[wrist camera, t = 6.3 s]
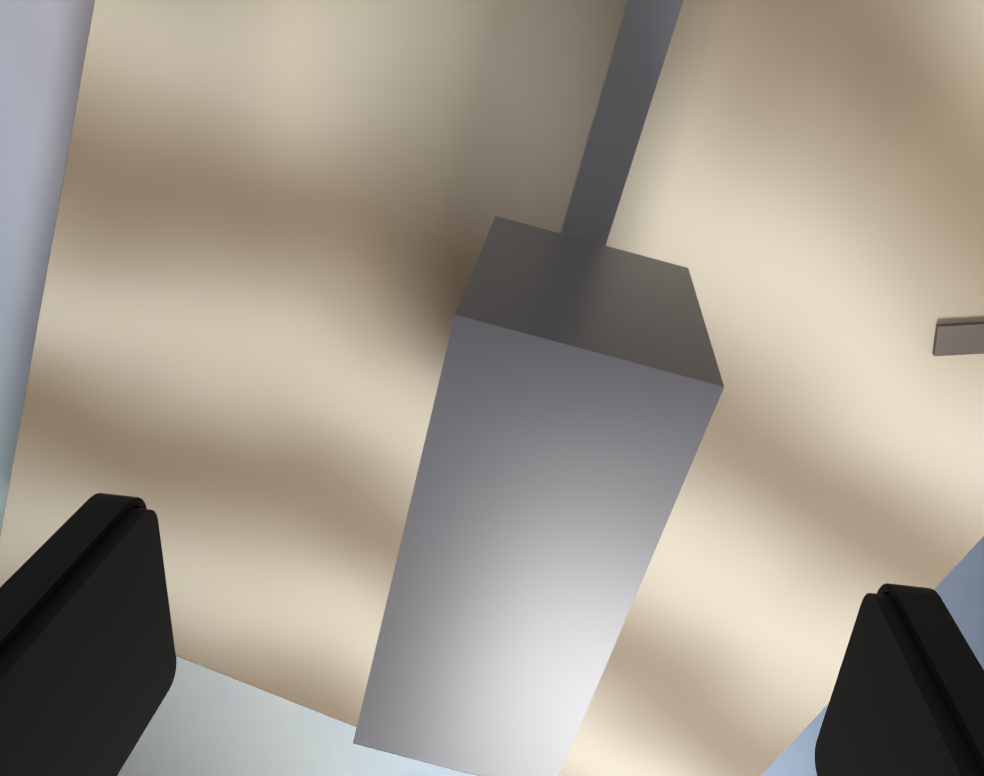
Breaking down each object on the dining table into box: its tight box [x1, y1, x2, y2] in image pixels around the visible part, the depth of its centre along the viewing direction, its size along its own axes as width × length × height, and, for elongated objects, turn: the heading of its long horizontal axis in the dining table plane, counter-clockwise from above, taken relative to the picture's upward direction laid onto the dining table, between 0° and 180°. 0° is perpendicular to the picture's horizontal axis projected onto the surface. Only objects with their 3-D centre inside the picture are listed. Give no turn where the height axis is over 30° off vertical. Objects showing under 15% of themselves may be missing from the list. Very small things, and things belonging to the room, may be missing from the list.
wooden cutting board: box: [0, 0, 984, 776], centre depth 18 cm, size 24×20×2 cm
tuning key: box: [353, 0, 724, 776], centre depth 12 cm, size 12×3×7 cm, turn 166°
